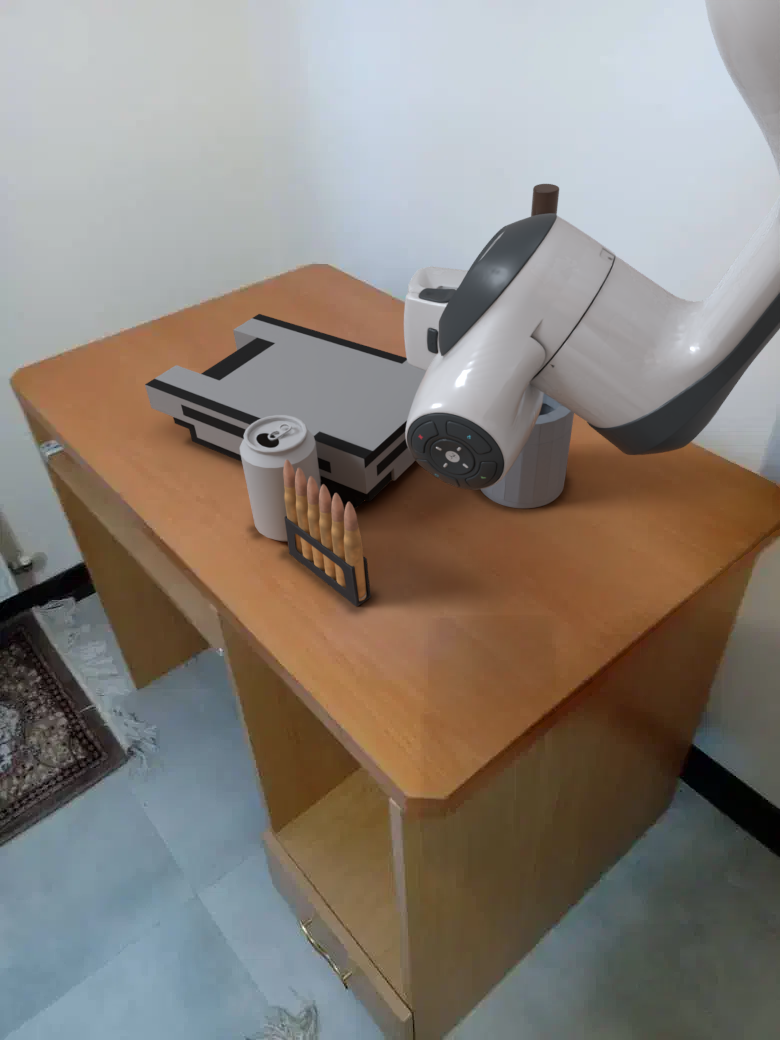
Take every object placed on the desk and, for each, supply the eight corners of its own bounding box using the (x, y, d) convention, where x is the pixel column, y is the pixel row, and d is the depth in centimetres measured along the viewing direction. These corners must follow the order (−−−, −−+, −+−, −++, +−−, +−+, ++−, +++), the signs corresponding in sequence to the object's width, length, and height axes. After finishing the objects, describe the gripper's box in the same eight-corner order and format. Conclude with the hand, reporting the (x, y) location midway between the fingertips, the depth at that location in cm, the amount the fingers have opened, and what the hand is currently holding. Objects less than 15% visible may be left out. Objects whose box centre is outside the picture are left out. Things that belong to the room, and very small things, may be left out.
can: (241, 521, 85) (222, 429, 77) (298, 491, 89) (285, 400, 81) (280, 557, 81) (264, 463, 73) (339, 524, 84) (329, 431, 76)
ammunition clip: (371, 597, 76) (364, 502, 68) (357, 607, 75) (348, 512, 67) (302, 544, 82) (288, 451, 74) (288, 553, 81) (272, 459, 73)
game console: (266, 359, 111) (257, 305, 106) (464, 425, 97) (466, 366, 92) (158, 432, 99) (142, 375, 93) (368, 520, 85) (364, 459, 79)
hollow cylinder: (570, 463, 91) (582, 380, 84) (555, 515, 84) (566, 430, 77) (488, 449, 93) (493, 367, 86) (467, 499, 87) (470, 415, 79)
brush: (548, 366, 80) (568, 182, 68) (541, 382, 78) (561, 195, 66) (516, 362, 81) (531, 180, 69) (509, 378, 79) (523, 192, 67)
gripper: (646, 324, 59) (662, 251, 68) (386, 292, 64) (435, 229, 74) (632, 396, 63) (649, 318, 73) (389, 361, 68) (435, 292, 78)
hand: (539, 273), depth 73 cm, fingers closed on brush, 2 cm apart
